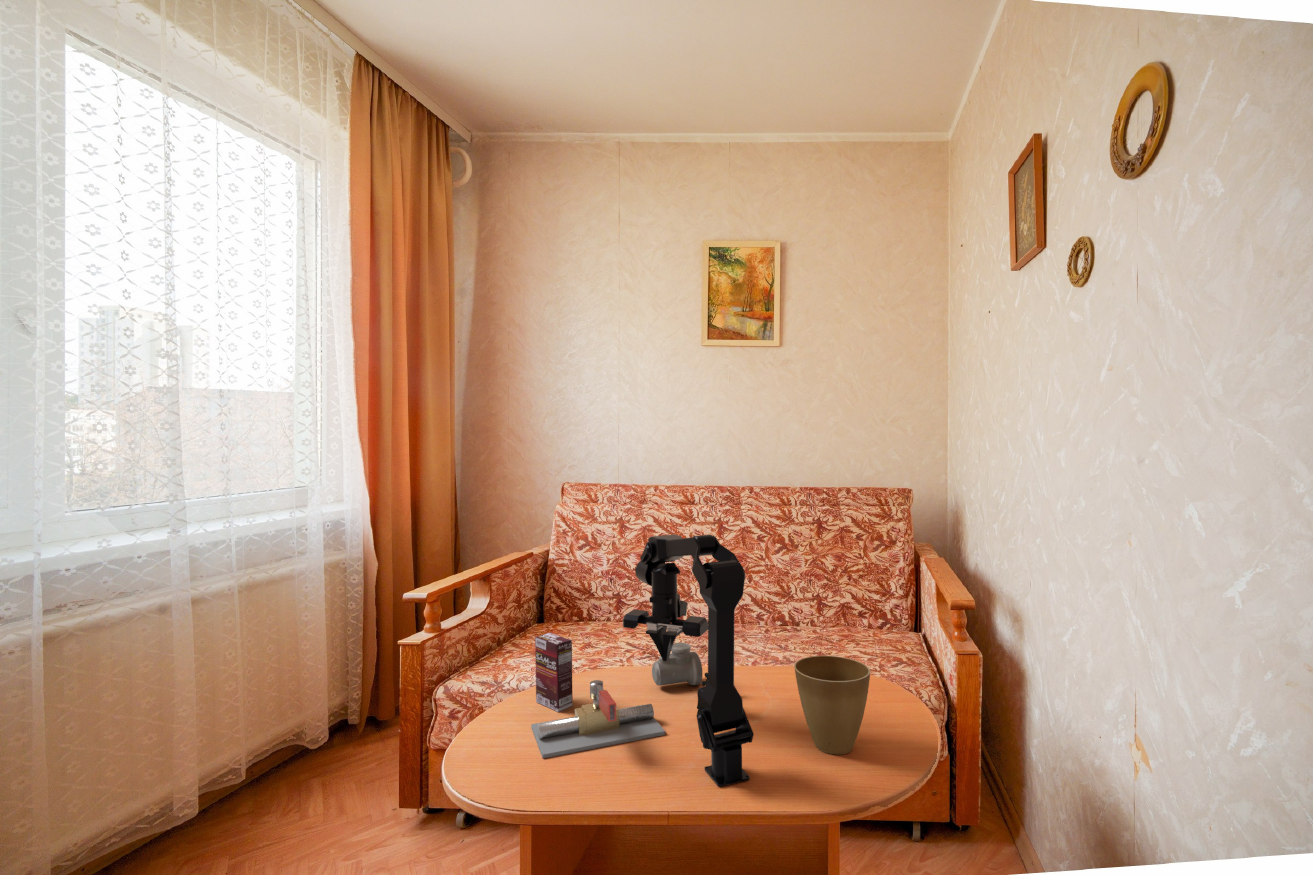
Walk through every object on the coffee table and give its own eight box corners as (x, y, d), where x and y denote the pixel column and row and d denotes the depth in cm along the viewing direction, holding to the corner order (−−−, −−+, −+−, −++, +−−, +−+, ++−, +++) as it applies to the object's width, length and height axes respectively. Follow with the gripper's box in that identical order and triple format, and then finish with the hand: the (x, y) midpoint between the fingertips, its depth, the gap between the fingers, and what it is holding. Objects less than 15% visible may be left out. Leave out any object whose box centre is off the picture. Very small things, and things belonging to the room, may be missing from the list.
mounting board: (643, 708, 146) (643, 704, 146) (665, 734, 132) (665, 730, 132) (531, 727, 136) (531, 724, 136) (542, 758, 123) (542, 754, 123)
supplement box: (534, 702, 149) (533, 636, 149) (550, 696, 153) (549, 631, 153) (557, 713, 144) (556, 644, 144) (573, 706, 147) (572, 638, 147)
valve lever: (588, 695, 135) (588, 680, 135) (601, 693, 136) (601, 678, 136) (605, 722, 123) (605, 704, 123) (619, 719, 124) (618, 702, 124)
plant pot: (880, 739, 129) (879, 662, 129) (858, 772, 117) (857, 687, 116) (810, 722, 137) (809, 649, 137) (783, 750, 125) (782, 671, 125)
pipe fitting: (693, 677, 164) (693, 638, 164) (704, 689, 156) (703, 648, 156) (649, 683, 160) (648, 643, 160) (658, 695, 153) (657, 653, 153)
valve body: (648, 713, 141) (647, 685, 141) (655, 721, 137) (654, 692, 137) (537, 733, 132) (536, 703, 132) (540, 742, 128) (540, 711, 128)
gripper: (715, 586, 143) (716, 654, 143) (642, 580, 151) (643, 644, 151) (698, 598, 133) (699, 671, 133) (621, 590, 141) (622, 659, 141)
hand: (665, 660), depth 140 cm, fingers closed
